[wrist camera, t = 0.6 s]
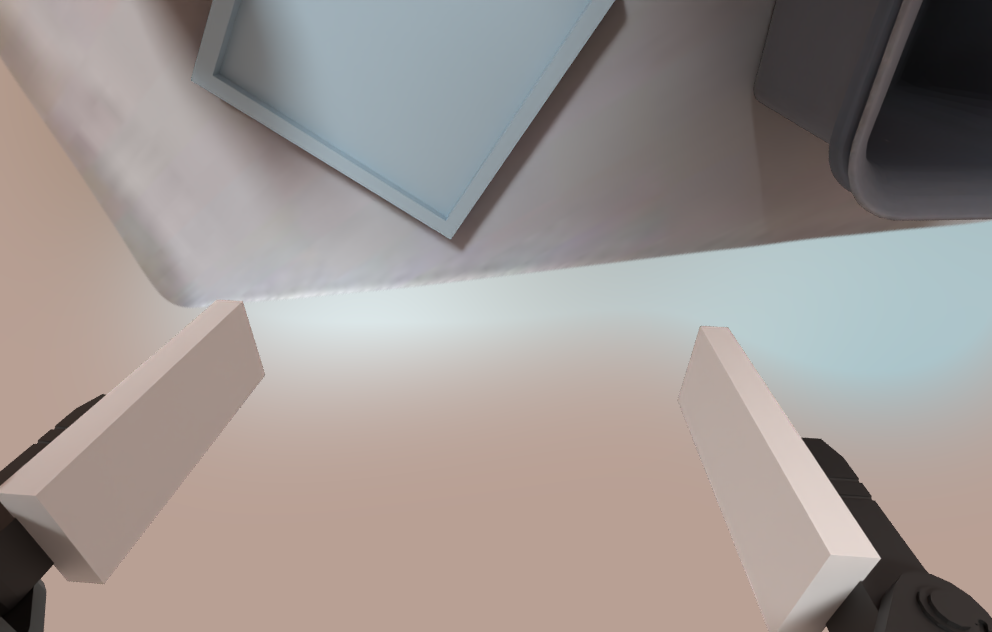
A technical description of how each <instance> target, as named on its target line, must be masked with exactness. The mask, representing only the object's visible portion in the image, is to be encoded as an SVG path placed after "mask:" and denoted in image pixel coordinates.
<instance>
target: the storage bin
mask: <svg viewBox="0 0 992 632" xmlns="http://www.w3.org/2000/svg"><path fill="white" fill-rule="evenodd" d="M754 94H755V97H756V99H757V100H758V101H759V102H760V103H762V104H764V105H766V106H767V107H769V108H771V109H772V110H774V111H776V112H777V113H779V114H781V115H782V116H784V117H786V118H787V119H789V120H791V121H792V122H794V123H796V124H797V125H799V126H800V127H802V128H804V129H805V130H807V131H809V132H810V133H812V134H814V135H815V136H817V137H819V138H820V139H822V140H824V141H825V142H827V143H829V144H830V145H829V163H830V168H831V171H832V173H833V175H834V177H835V178H836V180H837V181H838V182H839V183H840V184H841V185H842V186H843V187H844V188H845V189H847V190H848V191H850V192H852V194H853V196H854V198H855V199H856V201H857V202H858V204H859V205H861V206H862V207H863V208H864V209H865V210H866V211H868V212H870V213H872V214H874V215H876V216H878V217H881V218H885V219H890V220H975V219H992V0H776V4H775V8H774V12H773V16H772V20H771V24H770V28H769V32H768V36H767V39H766V43H765V47H764V51H763V54H762V58H761V62H760V66H759V70H758V73H757V77H756V81H755V85H754Z"/></svg>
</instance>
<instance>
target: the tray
mask: <svg viewBox="0 0 992 632" xmlns="http://www.w3.org/2000/svg"><path fill="white" fill-rule="evenodd" d="M614 1H615V0H213V1H212V5H211V9H210V12H209V16H208V19H207V23H206V27H205V30H204V34H203V37H202V41H201V45H200V48H199V52H198V55H197V59H196V63H195V66H194V70H193V74H192V77H191V81H193V82H194V83H196V84H198V85H199V86H201V87H202V88H204V89H206V90H207V91H209V92H211V93H212V94H214V95H215V96H217V97H219V98H220V99H222V100H224V101H225V102H227V103H228V104H230V105H232V106H233V107H235V108H237V109H238V110H240V111H242V112H243V113H245V114H246V115H248V116H250V117H251V118H253V119H255V120H256V121H258V122H259V123H261V124H263V125H264V126H266V127H268V128H269V129H271V130H273V131H274V132H276V133H277V134H279V135H281V136H282V137H284V138H286V139H287V140H289V141H290V142H292V143H294V144H295V145H297V146H299V147H300V148H302V149H304V150H305V151H307V152H308V153H310V154H312V155H313V156H315V157H317V158H318V159H320V160H321V161H323V162H325V163H326V164H328V165H330V166H331V167H333V168H335V169H336V170H338V171H339V172H341V173H343V174H344V175H346V176H348V177H349V178H351V179H352V180H354V181H356V182H357V183H359V184H361V185H362V186H364V187H366V188H367V189H369V190H370V191H372V192H374V193H375V194H377V195H379V196H380V197H382V198H383V199H385V200H387V201H388V202H390V203H392V204H393V205H395V206H396V207H398V208H400V209H401V210H403V211H405V212H406V213H408V214H410V215H411V216H413V217H414V218H416V219H418V220H419V221H421V222H423V223H424V224H426V225H427V226H429V227H431V228H432V229H434V230H436V231H437V232H439V233H441V234H442V235H444V236H445V237H447V238H449V239H450V240H451V238H452V237H453V235H454V234H455V233H456V231H457V230H458V228H459V227H460V225H461V224H462V222H463V221H464V219H465V218H466V216H467V215H468V214H469V212H470V211H471V209H472V208H473V206H474V205H475V203H476V202H477V200H478V199H479V198H480V196H481V195H482V193H483V192H484V190H485V189H486V187H487V186H488V184H489V183H490V182H491V180H492V179H493V177H494V176H495V174H496V173H497V171H498V170H499V168H500V167H501V166H502V164H503V163H504V161H505V160H506V158H507V157H508V155H509V154H510V152H511V151H512V150H513V148H514V147H515V145H516V144H517V142H518V141H519V139H520V138H521V136H522V135H523V134H524V132H525V131H526V129H527V128H528V126H529V125H530V123H531V122H532V120H533V119H534V118H535V116H536V115H537V113H538V112H539V110H540V109H541V107H542V106H543V104H544V103H545V101H546V100H547V99H548V97H549V96H550V94H551V93H552V91H553V90H554V88H555V87H556V85H557V84H558V83H559V81H560V80H561V78H562V77H563V75H564V74H565V72H566V71H567V69H568V68H569V67H570V65H571V64H572V62H573V61H574V59H575V58H576V56H577V55H578V53H579V52H580V51H581V49H582V48H583V46H584V45H585V43H586V42H587V40H588V39H589V37H590V36H591V35H592V33H593V32H594V30H595V29H596V27H597V26H598V24H599V23H600V21H601V20H602V19H603V17H604V16H605V14H606V13H607V11H608V10H609V8H610V7H611V5H612V4H613V3H614Z"/></svg>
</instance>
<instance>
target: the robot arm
mask: <svg viewBox="0 0 992 632" xmlns="http://www.w3.org/2000/svg"><path fill="white" fill-rule="evenodd" d="M264 376H265V373H264V369H263V366H262V363H261V360H260V357H259V353H258V350H257V347H256V343H255V340H254V337H253V333H252V330H251V327H250V324H249V320H248V317H247V314H246V311H245V307H244V304H243V301H230V300H216V301H215V302H214V303H213V304H212V305H210V306H209V307H208V308H207V309H206V310H205V311H204V312H202V313H201V314H200V315H199V316H198V317H196V318H195V319H194V320H193V321H192V322H191V323H189V324H188V325H187V326H186V327H185V328H184V329H182V331H180V332H179V333H178V334H177V335H175V336H174V337H173V338H172V339H171V340H170V341H169V342H167V343H166V344H165V345H164V346H163V347H161V348H160V349H159V350H158V351H157V352H156V353H155V354H153V355H152V356H151V357H150V358H149V359H147V360H146V361H145V362H144V363H143V364H142V365H141V366H139V367H138V368H137V369H136V370H135V371H134V372H133V373H131V374H130V375H129V376H128V377H127V378H126V379H124V380H123V381H122V382H121V383H120V384H118V385H117V386H116V387H115V388H114V389H113V390H111V391H110V392H109V393H108V394H107V395H104V394H102V395H100V396H98V397H96V398H95V399H93V400H91V401H89V402H87V403H85V404H84V405H82V406H80V407H78V408H76V409H75V410H74V411H73V412H71V413H70V414H69V415H68V416H66V417H65V418H64V419H63V420H62V421H61V422H59V423H58V424H57V425H56V426H55V429H54V430H50V431H48V432H47V433H46V434H45V435H44V436H42V437H41V438H40V439H39V440H38V443H37V444H33V445H32V446H31V447H29V448H28V449H27V450H26V451H24V452H23V453H22V454H21V455H20V456H19V457H17V458H16V459H15V460H14V461H12V462H11V463H10V464H9V465H8V466H6V467H5V468H4V469H3V470H2V471H0V632H43V631H44V617H45V603H46V589H45V585H44V583H43V581H41V578H42V577H43V575H44V574H45V573H46V572H47V571H48V570H49V569H50V568H51V566H52V565H53V564H54V566H55V567H56V568H57V569H58V570H59V572H60V573H61V574H62V575H63V576H64V577H65V578H66V580H67V581H73V582H85V583H97V584H105V582H106V581H107V580H108V578H109V577H110V576H111V574H112V573H113V572H114V571H115V569H116V568H117V567H118V565H119V564H120V563H121V561H122V560H123V559H124V558H125V556H126V555H127V554H128V552H129V551H130V550H131V549H132V547H133V546H134V545H135V543H136V542H137V541H138V539H139V538H140V537H141V536H142V534H143V533H144V532H145V530H146V529H147V528H148V527H149V525H150V524H151V523H152V521H153V520H154V519H155V517H156V516H157V515H158V514H159V512H160V511H161V510H162V508H163V507H164V506H165V504H166V503H167V502H168V500H169V499H170V498H171V497H172V495H173V494H174V493H175V491H176V490H177V489H178V487H179V486H180V485H181V484H182V482H183V481H184V480H185V478H186V477H187V476H188V475H189V473H190V472H191V470H192V469H193V468H194V467H195V466H196V464H197V463H198V462H199V460H200V459H201V457H203V455H204V454H205V452H206V451H207V450H208V449H209V447H210V446H211V445H212V444H213V442H214V441H215V440H216V438H217V437H218V436H219V434H220V433H221V432H222V431H223V429H224V428H225V426H226V425H227V424H228V423H229V421H230V420H231V419H232V417H233V416H234V415H235V414H236V412H237V411H238V410H239V408H240V407H241V406H242V405H243V403H244V402H245V401H246V399H247V398H248V397H249V395H250V394H251V393H252V392H253V390H254V389H255V388H256V386H257V385H258V384H259V382H260V381H261V380H262V379H263V377H264ZM678 403H679V405H680V408H681V410H682V413H683V415H684V418H685V421H686V423H687V425H688V428H689V431H690V433H691V435H692V438H693V441H694V443H695V446H696V448H697V451H698V453H699V456H700V459H701V461H702V464H703V466H704V469H705V471H706V474H707V476H708V479H709V481H710V484H711V487H712V489H713V492H714V494H715V497H716V499H717V502H718V504H719V507H720V509H721V512H722V514H723V517H724V519H725V522H726V524H727V527H728V530H729V532H730V535H731V537H732V540H733V542H734V545H735V547H736V550H737V552H738V555H739V557H740V560H741V563H742V565H743V568H744V570H745V573H746V575H747V578H748V580H749V583H750V585H751V588H752V590H753V593H754V595H755V598H756V600H757V603H758V606H759V608H760V611H761V613H762V616H763V618H764V621H765V623H766V626H767V628H768V631H769V632H822V631H823V630H824V628H825V627H826V626H827V628H828V630H829V632H992V618H991V617H990V616H989V614H988V613H987V612H986V611H985V610H984V609H983V608H982V607H981V606H980V605H979V604H978V603H977V602H976V601H975V600H974V599H973V598H972V597H971V596H970V595H968V594H967V593H965V592H964V591H962V590H960V589H959V588H957V587H956V586H955V585H953V584H952V583H950V582H947V581H945V580H943V579H941V578H939V577H936V576H934V575H932V574H929V573H928V572H927V571H926V570H925V569H924V567H923V566H922V565H921V563H920V562H919V560H918V559H917V558H916V556H915V555H914V554H913V552H912V551H911V550H910V548H909V547H908V546H907V544H906V543H905V541H904V540H903V539H902V538H901V536H900V534H899V533H898V532H897V531H896V529H895V528H894V526H893V525H892V523H891V522H890V521H889V520H888V518H887V517H886V515H885V514H884V513H883V511H882V510H881V508H880V507H879V506H878V504H877V503H876V502H875V501H872V499H871V495H870V494H869V492H868V491H867V489H866V488H865V487H864V485H863V484H862V483H859V481H858V480H859V478H858V477H857V476H856V474H855V473H854V471H853V470H852V469H851V467H850V466H849V465H848V463H847V462H846V460H845V459H844V458H843V457H842V456H841V455H840V454H838V453H837V452H836V451H835V450H834V449H832V448H831V447H830V446H829V445H828V444H826V443H825V442H824V441H823V440H821V439H814V438H801V437H800V435H799V434H798V432H797V431H796V429H795V428H794V426H793V425H792V423H791V422H790V420H789V419H788V417H787V416H786V414H785V413H784V411H783V410H782V408H781V407H780V405H779V404H778V402H777V401H776V399H775V398H774V396H773V395H772V393H771V392H770V390H769V388H768V387H767V386H766V384H765V382H764V381H763V379H762V378H761V376H760V375H759V373H758V372H757V370H756V369H755V367H754V366H753V364H752V363H751V361H750V360H749V358H748V357H747V355H746V354H745V352H744V351H743V349H742V348H741V346H740V345H739V343H738V342H737V340H736V339H735V337H734V336H733V334H732V333H731V331H730V330H729V328H728V327H710V326H700V328H699V332H698V335H697V338H696V341H695V345H694V348H693V351H692V354H691V358H690V361H689V364H688V368H687V371H686V374H685V377H684V381H683V384H682V387H681V390H680V394H679V397H678Z"/></svg>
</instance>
